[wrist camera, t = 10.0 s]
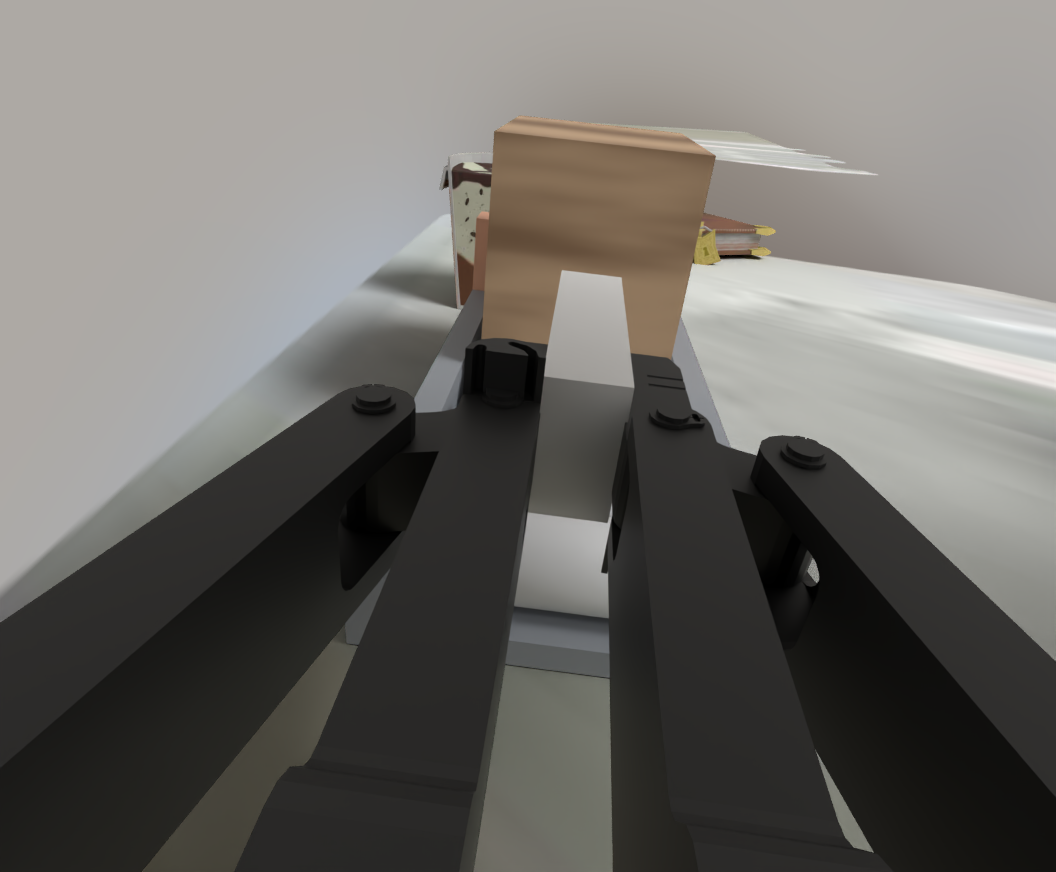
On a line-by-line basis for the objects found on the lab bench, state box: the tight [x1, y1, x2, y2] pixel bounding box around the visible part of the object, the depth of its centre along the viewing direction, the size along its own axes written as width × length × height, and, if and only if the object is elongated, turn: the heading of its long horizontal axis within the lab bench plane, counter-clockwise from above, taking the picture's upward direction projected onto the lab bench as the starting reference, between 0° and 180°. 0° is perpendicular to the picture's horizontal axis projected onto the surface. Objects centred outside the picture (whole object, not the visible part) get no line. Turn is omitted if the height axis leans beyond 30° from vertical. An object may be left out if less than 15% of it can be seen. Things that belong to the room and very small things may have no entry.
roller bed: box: [345, 211, 731, 678], centre depth 28 cm, size 25×12×8 cm, turn 175°
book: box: [693, 213, 776, 265], centre depth 69 cm, size 16×25×5 cm, turn 114°
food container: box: [440, 153, 493, 309], centre depth 47 cm, size 12×6×10 cm, turn 88°
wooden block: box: [481, 116, 716, 360], centre depth 30 cm, size 10×8×9 cm
